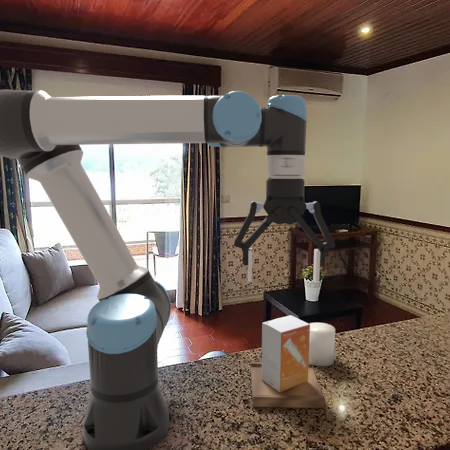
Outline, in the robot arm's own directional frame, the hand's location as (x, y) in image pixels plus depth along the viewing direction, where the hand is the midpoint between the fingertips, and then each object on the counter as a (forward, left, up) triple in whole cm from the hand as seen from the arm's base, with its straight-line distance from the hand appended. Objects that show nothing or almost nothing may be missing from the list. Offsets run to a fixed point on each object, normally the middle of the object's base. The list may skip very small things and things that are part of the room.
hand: (282, 281), depth 81 cm
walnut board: (+1, 0, -23) cm, 24 cm away
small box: (+1, 0, -22) cm, 22 cm away
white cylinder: (+11, +14, -23) cm, 29 cm away
